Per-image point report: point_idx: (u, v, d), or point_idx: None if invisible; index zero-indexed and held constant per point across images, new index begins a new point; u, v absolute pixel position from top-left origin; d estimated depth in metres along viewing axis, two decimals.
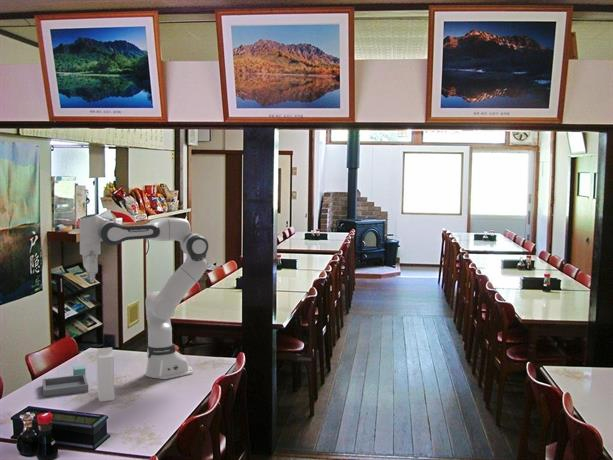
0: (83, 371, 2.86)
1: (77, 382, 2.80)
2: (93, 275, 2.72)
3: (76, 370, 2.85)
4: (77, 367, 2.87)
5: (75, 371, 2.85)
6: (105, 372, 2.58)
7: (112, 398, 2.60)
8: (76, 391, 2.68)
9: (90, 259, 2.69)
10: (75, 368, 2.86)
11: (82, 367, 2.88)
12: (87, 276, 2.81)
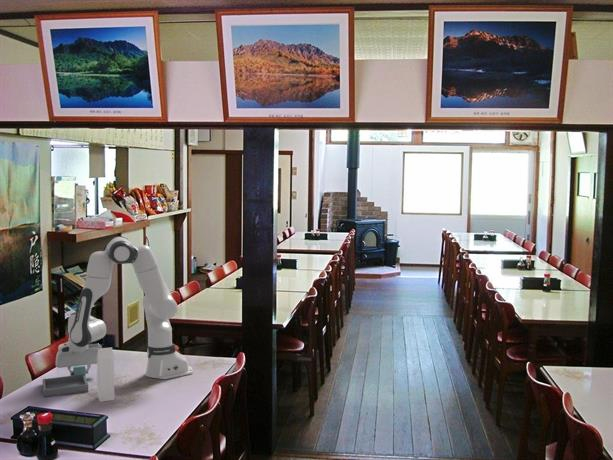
0: (83, 371, 2.86)
1: (77, 382, 2.80)
2: None
3: (76, 370, 2.85)
4: (77, 367, 2.87)
5: (75, 371, 2.85)
6: (105, 372, 2.58)
7: (112, 398, 2.60)
8: (76, 391, 2.68)
9: None
10: (75, 368, 2.86)
11: (82, 366, 2.88)
12: (73, 372, 2.86)
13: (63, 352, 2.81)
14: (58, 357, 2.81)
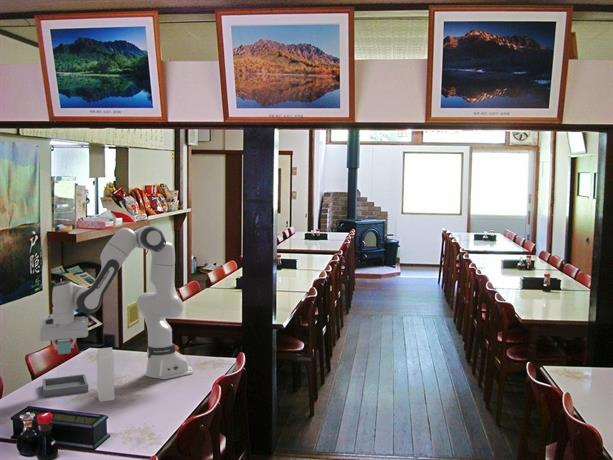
0: (68, 345, 2.70)
1: (77, 382, 2.80)
2: (75, 340, 2.74)
3: (61, 343, 2.69)
4: (62, 341, 2.71)
5: (60, 344, 2.69)
6: (105, 372, 2.58)
7: (112, 398, 2.60)
8: (76, 391, 2.68)
9: (86, 323, 2.74)
10: (60, 341, 2.70)
11: (68, 340, 2.72)
12: (57, 346, 2.70)
13: (47, 324, 2.65)
14: (41, 330, 2.65)
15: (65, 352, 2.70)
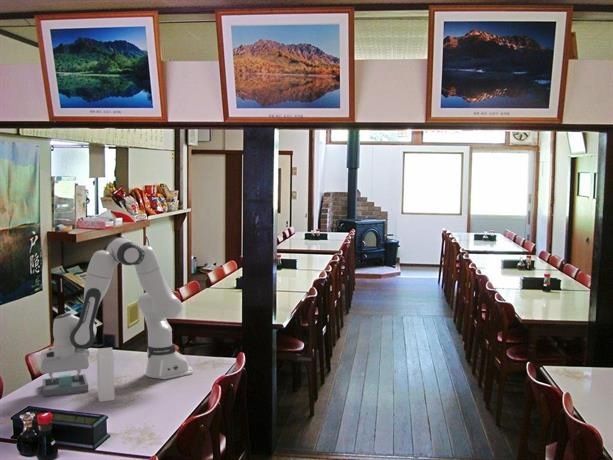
0: (69, 380, 2.71)
1: (77, 382, 2.80)
2: None
3: (62, 379, 2.70)
4: (63, 376, 2.73)
5: (61, 380, 2.70)
6: (105, 372, 2.58)
7: (112, 398, 2.60)
8: (76, 391, 2.68)
9: (86, 355, 2.75)
10: (61, 377, 2.72)
11: (69, 375, 2.74)
12: (54, 379, 2.70)
13: (48, 357, 2.66)
14: (42, 363, 2.66)
15: None
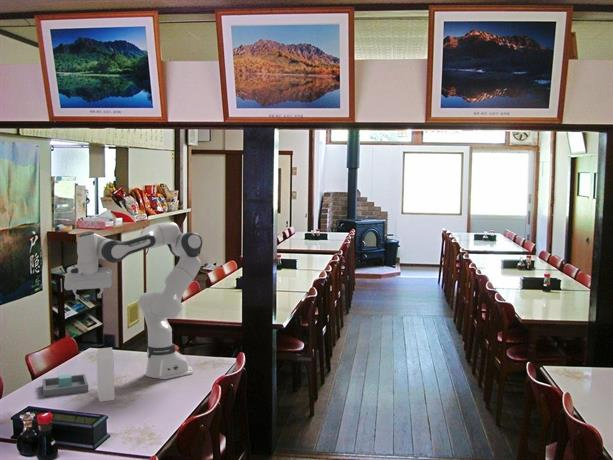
0: (69, 380, 2.71)
1: (77, 382, 2.80)
2: None
3: (62, 379, 2.70)
4: (63, 376, 2.73)
5: (61, 380, 2.70)
6: (105, 372, 2.58)
7: (112, 398, 2.60)
8: (76, 391, 2.68)
9: (109, 273, 2.80)
10: (61, 377, 2.72)
11: (69, 375, 2.74)
12: (78, 296, 2.76)
13: (72, 273, 2.72)
14: (67, 279, 2.72)
15: None
